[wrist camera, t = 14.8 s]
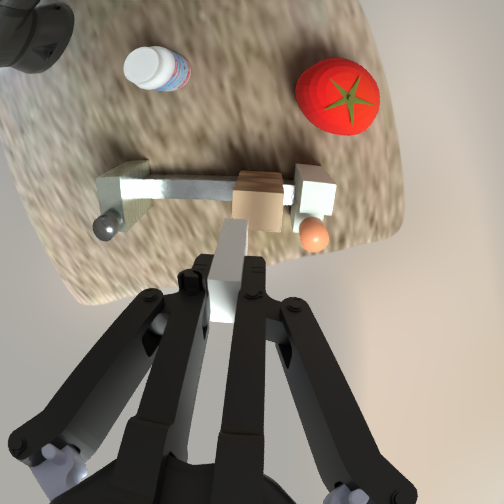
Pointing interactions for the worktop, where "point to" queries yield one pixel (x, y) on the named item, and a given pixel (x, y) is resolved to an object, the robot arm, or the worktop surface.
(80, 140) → the worktop surface
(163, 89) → the pill bottle
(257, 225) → the block
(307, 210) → the pale stepped block
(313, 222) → the cylinder
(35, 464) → the robot arm
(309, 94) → the tomato
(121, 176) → the rail
